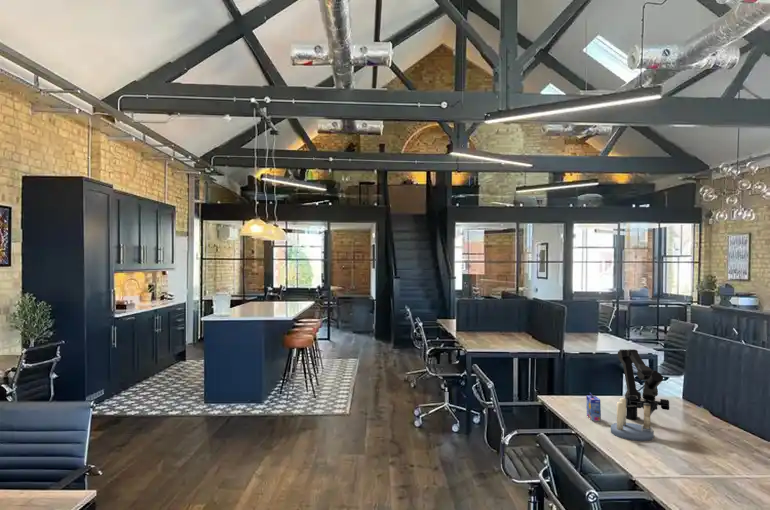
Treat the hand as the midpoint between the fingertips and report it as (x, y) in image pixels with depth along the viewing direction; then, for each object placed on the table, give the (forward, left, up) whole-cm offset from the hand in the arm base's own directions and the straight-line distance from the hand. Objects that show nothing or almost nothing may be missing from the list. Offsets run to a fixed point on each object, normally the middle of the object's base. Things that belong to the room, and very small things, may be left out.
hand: (647, 416), depth 263 cm
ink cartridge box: (-5, -33, -10) cm, 35 cm away
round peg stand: (+4, -6, -10) cm, 12 cm away
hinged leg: (+2, 0, -5) cm, 6 cm away
